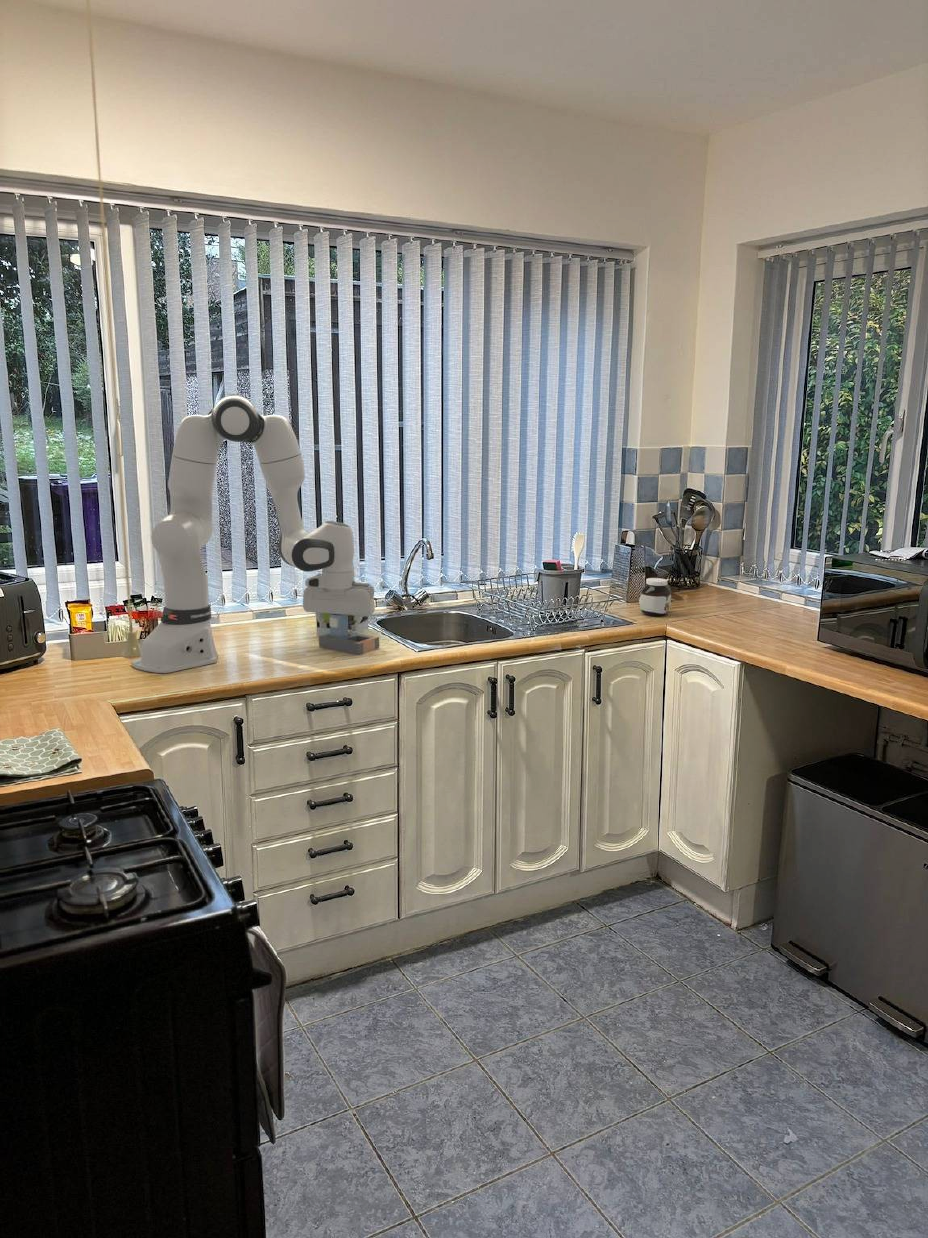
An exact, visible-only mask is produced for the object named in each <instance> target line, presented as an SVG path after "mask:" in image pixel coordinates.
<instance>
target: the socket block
mask: <svg viewBox="0 0 928 1238" xmlns="http://www.w3.org/2000/svg"><path fill="white" fill-rule="evenodd" d="M318 647H319V648H321V649H326V650H332V651H337V652H342V653H347V654H352V655H356V656H360V655H363V654H366V653H369V652H371V651H374V650H377V649H380V636H378V635H377V636H374V635H368V634H363V633H353V632H348V636H346V637H343V638H337V637H331V636H330V633H329V634H326V635H322V636H318Z"/></svg>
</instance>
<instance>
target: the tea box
mask: <svg viewBox="0 0 928 1238" xmlns="http://www.w3.org/2000/svg"><path fill="white" fill-rule="evenodd" d="M322 617H323V619H324V621H327V624H326V625H327V628H325V629H323V628H320V622H319V621H318V619H317V618H316V617H315V618H316V619H315V622H316V635H317V637H319V636H322V635H326V634H329V633H330V614H329V613H323V615H322ZM356 621H357V619H355V616H354V615H348V632H353V633H358V634H360V633H361V632H363V631H365V630H369V616H368V617H367V616H362V620H361V621H360V623H359V630H358V631H352V630H351V629H352V628H351V625H352V624H355V622H356Z"/></svg>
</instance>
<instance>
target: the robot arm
mask: <svg viewBox="0 0 928 1238" xmlns="http://www.w3.org/2000/svg"><path fill="white" fill-rule="evenodd" d="M179 424H180V425H179V426H178V430H177V432H176V436H175V439H174V444H173V448H172V454H171V461H170V467H169V473H168V474H169V475H168V482H167V488H168V490H169V496H170V497H169V498H170V499H169V500H170V510H169V511H170V512H169V515H166V516H164V517H162V518H161V519H160V520H158V522H157V523H156V524H155V526H154V528H153V530H152V532H151V544H152V546H153V548H154V549H155V551H156V553H157V557H158V560H159V564H160V568H161V572H162V577H163V587H164V588H163V589H164V601H165V602H164V603H165V606H164V607H163V610H162V611H161V610H157V609H155V610H153V611H152V614H151V615H152V617H153V618H156V619H160V623H158V625H157V626H155V628H154V629H153V630H152V631H151V632H150V633H149V634H148V635H147V636H146V637H145V639H143V641H142V642H141V646H140V657H139V658H137V659H134V660H131V667H133V668H134V669H137V670H139V671H145V672H149V673H156V674H157V673H158V674H169V673H175V672H178V671H183V670H188V669H192V668H197V667H201V666H206V665H210V664H215V663H217V661H218V660H217V658H218V656H219V655H218V652H217V648H216V646H215V641H214V637H213V633H212V625H211V618H212V610H211V609H212V606H211V604H210V602H209V601H210V599H209V584H208V583H209V581H208V580H209V579H208V574H207V573H206V571H205V566H204V563H203V558H202V555H201V549H202V548H203V547H205V546H206V545H207V544H208V543H209V541H210V540H211V537H212V535H213V532H214V526H213V525H214V524H213V491H214V483H215V478H216V477H215V476H216V471H217V463H218V456H219V451H220V448H221V445H222V444H223V442H224V441H225V440H227V441H229V442H233V443H234V442H235V443H248V444H249V443H251V444H252V446H253V447H254V450H255V452H256V455H257V460H258V463H259V466H260V469H261V472H262V476H263V478H264V481H265V483H266V486H267V488H268V490H269V492H270V495H271V497H272V501H273V505H274V508H275V513H276V517H277V522H278V527H279V541H278V554H279V556H280V558H281V559H282V561H283V562H284V563H285V564H287V565H289V566H291V567H294V568H296V569H298V570H299V571H302V572H309V573H311V572H315V571H319V570H321V573H319V574H316V575H312V576H310V577H309V578H306V579H305V580H304V581H305V583H304V585H305V587H306V588H305V589H304V591H303V596H302V608H303V610H304V611H305V612H307V613H315V618H317V619H318V621H319V622H320V628H323V629H325V628H327V625H326V624H327V621H324V619H323V617H322V615H323V613H329V614H341V615H354V616H355V619H357V621H356V622H355V624H352V625H351V628H352V629H351V630H352V631H358V630H359V623H360V621H361V620H362V616H367V617H368V618H369V617H371V616H372V615H373V614H374V613H375V611H376V609H375V608H376V606H375V598H374V597H375V587H374V586H373V585H372V584H371V583H369V582H367V581H366V582H365V581H364V582H363V581H355V565H354V558H355V543H354V541H355V540H354V533H353V529H352V528H351V527H350V526H349V525H348V524H346V523H343V522H339V521H334V520H327V521H324V522H323V523H322V524H320V526H319V527H317V528H315V529H313V530H311V531H310V532H307V530H306V528H305V526H304V524H303V523H304V522H303V519H302V516H301V511H300V506H299V502H298V492H299V490H300V488H301V486H302V485H303V483H304V481H305V479H306V475H305V473H306V472H305V465H304V458H303V455H302V451H301V448H300V445H299V442H298V439H297V436H296V434H295V431H294V429H293V428H292V425H291V423H290V421H289V420H288V418H286V417H285V416H284V415H279V414H268V415H262V414H261V413H259V411H258V410H257V409H256V407H255V405H254V404H253V402H252V401H251V400H250V399H248V398H247V397H246V396H244V395H241V394H235V393H234V394H233V393H232V394H229V395H226V396H224V397H222V398H221V399H219V400H218V401H217V403H216V404H215V405H214V406H213V407H212V409H211V410H210V411H209V412H208V413H207V414H206V415H202V414H192V415H191V414H190V415H188V416H185V417H184V418H183V419H182V420H181V422H180V423H179Z"/></svg>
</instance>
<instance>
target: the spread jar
mask: <svg viewBox="0 0 928 1238" xmlns="http://www.w3.org/2000/svg"><path fill="white" fill-rule="evenodd" d="M645 582H646V583H645V585H644V587H643V588H642V590H641V592H640V597H639V600H638V603H639V609H640V612H641V613H642V614H643V615H645V616H648V617H656V618H657V617H658V618H659V617H661V618H662V617H664V616H666V615H667V614H668V613H669V611H670V609H671V601H672V592H671V589H670V588H669V586H668V580H667V579H665V578H661V577H659V578H658V577H649V578H646V581H645Z"/></svg>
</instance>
